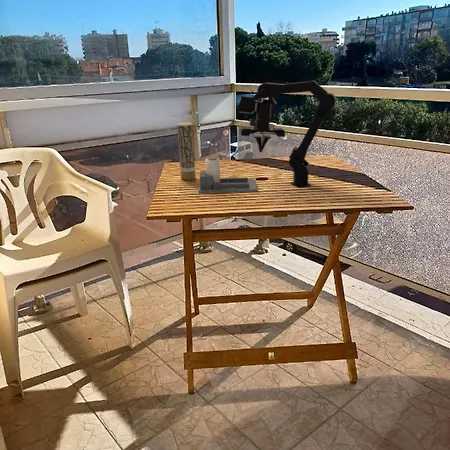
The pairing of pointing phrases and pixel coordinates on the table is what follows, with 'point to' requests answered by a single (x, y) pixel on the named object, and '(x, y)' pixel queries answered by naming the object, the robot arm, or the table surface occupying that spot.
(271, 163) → the table surface
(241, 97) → the robot arm
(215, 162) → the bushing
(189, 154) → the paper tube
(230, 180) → the jig
